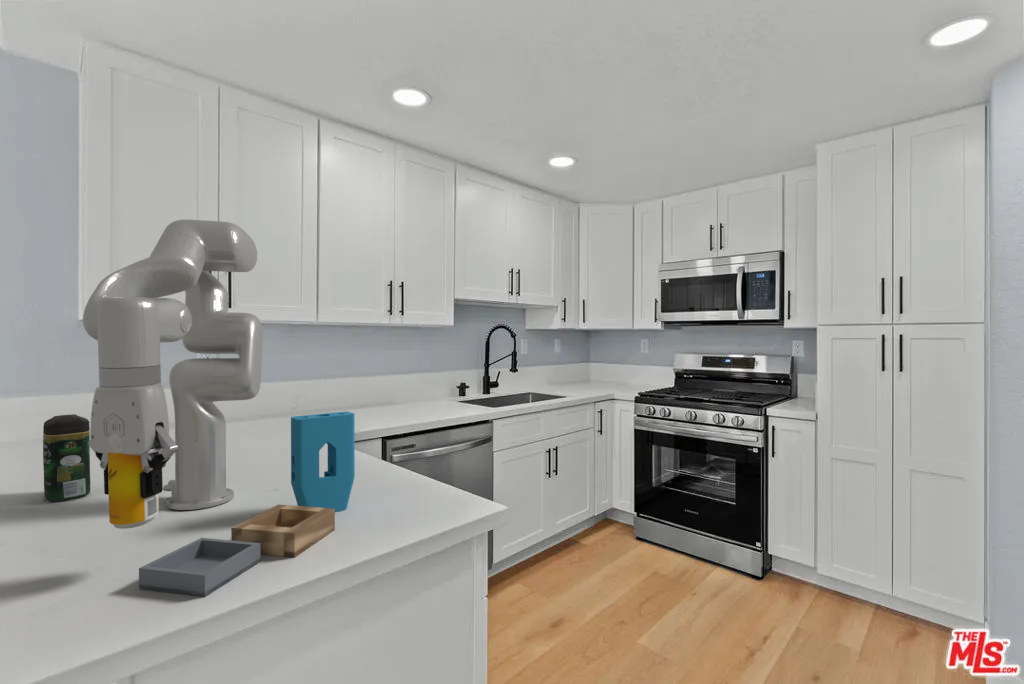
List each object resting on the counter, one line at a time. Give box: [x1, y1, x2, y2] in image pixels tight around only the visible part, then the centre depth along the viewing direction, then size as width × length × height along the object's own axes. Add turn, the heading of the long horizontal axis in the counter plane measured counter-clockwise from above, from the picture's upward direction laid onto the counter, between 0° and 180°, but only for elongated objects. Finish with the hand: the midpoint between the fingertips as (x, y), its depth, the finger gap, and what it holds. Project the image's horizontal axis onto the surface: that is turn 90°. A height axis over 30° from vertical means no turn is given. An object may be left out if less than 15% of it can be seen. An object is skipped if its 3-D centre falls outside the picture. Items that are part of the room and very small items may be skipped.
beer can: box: [108, 433, 160, 530], centre depth 76 cm, size 6×6×15 cm
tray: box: [138, 537, 262, 598], centre depth 75 cm, size 11×11×3 cm
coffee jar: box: [42, 413, 91, 502], centre depth 113 cm, size 10×8×19 cm
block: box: [290, 411, 356, 513], centre depth 103 cm, size 12×5×20 cm, turn 130°
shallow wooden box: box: [230, 504, 336, 558], centre depth 88 cm, size 12×12×4 cm
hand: (133, 492), depth 77 cm, fingers closed on beer can, 5 cm apart
